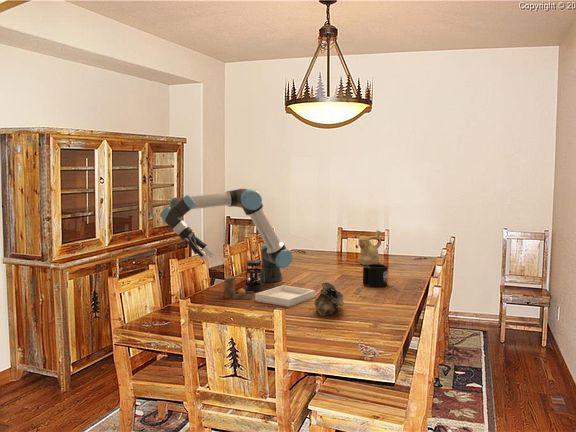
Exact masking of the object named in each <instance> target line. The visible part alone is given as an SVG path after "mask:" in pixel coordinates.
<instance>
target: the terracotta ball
mask: <svg viewBox="0 0 576 432" xmlns="http://www.w3.org/2000/svg"><path fill="white" fill-rule="evenodd" d="M237 291H238V294H245V291H246V289H244V288H239V289H238V290H237Z"/></svg>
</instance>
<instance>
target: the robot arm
mask: <svg viewBox="0 0 576 432" xmlns="http://www.w3.org/2000/svg"><path fill="white" fill-rule="evenodd" d="M262 201H263V197H262V195H261V193H259V191H258V190H256V189H251V188H238V189H233V190H226V191H225V192H222V193H211V194H204V195H203V194H202V195H195V196H194V195H192V196H190V195H188V194H187V195H185V196H183V197H172V198H171V199H170V200H169V203H168V204H169V206H167V207H165V208H164V209H163V210H162V211H160V214H159V216H160V217H161V219H162V220H163V221H164V222H165V224H167V226H169V228H170V229H171V230H173V233H176V235H178V237H179V238H180V239H181V240H183V241H185V242H186V243H187V245H188V246H189V247H190V249H191V250H192V251H193V253H194V255H196V254H197V255H198V256H199V258H200V259H202V260H203V261H204V262H205V263H206V262H207V261H208V260H209V259H211V258H212V257H213V256H214V253H213V252H212V251H211V250H210V249H209V248H208V245H207V243H205V242H203V240H201V239H200V238H199V237H197V235H195V234H194V233H193V229H192V228H190V227H189V226H188V224H187V223H186V222H185V221H184V220H183V219H182V218H183V217H184V216H186V214H188V213H189V212H190V211H191V210H196V209H206V208H215V207H224V206H227V207H228V208H232V207H233V208H234V207H236V208H241V209H242V210H243V212H244V214H245V215H246V216H249V218H250V219H251V221H252V222H253V225H254V226H255V229H256V231H257V232H258V234H259V236H260V238H261V239H262V241H263V243H264V244H262V245H261V250H260V252H261V259H260V261H261V263H260V266H261V267H260V269H261V270H264V283H265V282H266V283H276V282H281V281H283V274H282V271H281V269H286V268H288V267H289V266H291V264H292V263H293V262H292V261H293V259H294V254H293V253H292V252H291V250H289V249H287V247H286V245H285V243H284V242H283V241H280V240H279V237H278V236H277V234H276V232H275V230H274V228H273V226H272V225H271V222H270V221H269V219H268V217H267V215H266V213H265V211H264V210H263V209H264V205H263V203H262ZM192 233H193V234H192ZM200 248H201V249H202V250H201V249H200ZM258 278H260V273H258ZM261 282H263V271H261Z"/></svg>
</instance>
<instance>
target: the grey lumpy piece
mask: <svg viewBox="0 0 576 432" xmlns="http://www.w3.org/2000/svg"><path fill="white" fill-rule="evenodd" d="M321 288H322V289H320V293H319V295H318V296H317V298H315V300H314V303H313V304H314V307H315V308H316V311H317V312H318V314H319V316H325V317H326V316H328V315H330V316H331V315H333V316H334V314H335V311H336V310H337V308H338V306H341V307H344V304H345V303H344V301H343V298H344V295H343V293H341V292H340V291H338V290H337V289H336V288H335V286H334V285H332V284H331V283H330V282H322V284H321Z"/></svg>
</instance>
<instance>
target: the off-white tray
mask: <svg viewBox="0 0 576 432" xmlns="http://www.w3.org/2000/svg"><path fill="white" fill-rule="evenodd" d="M254 294H255V298H254V299H255V302H258V303H265V304H270V305H276V306H282V307H286V308H291V307H293V306H295V305H298V304H301V303H304V302H306V301H309V300H311V299H314V298H316V290H314V289H310V288H303V287H297V286H290V285H284V284H282V285H279V286H275V287H273V288H269V289H266V290H263V291H258V292H255V293H254Z"/></svg>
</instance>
